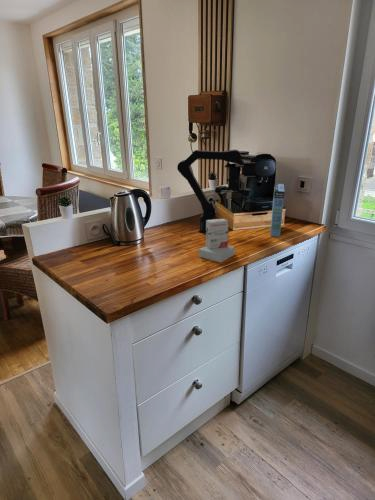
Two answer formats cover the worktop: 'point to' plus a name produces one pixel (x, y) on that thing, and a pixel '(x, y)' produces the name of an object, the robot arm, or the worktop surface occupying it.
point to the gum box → (277, 210)
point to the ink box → (216, 233)
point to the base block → (217, 253)
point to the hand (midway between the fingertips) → (233, 207)
